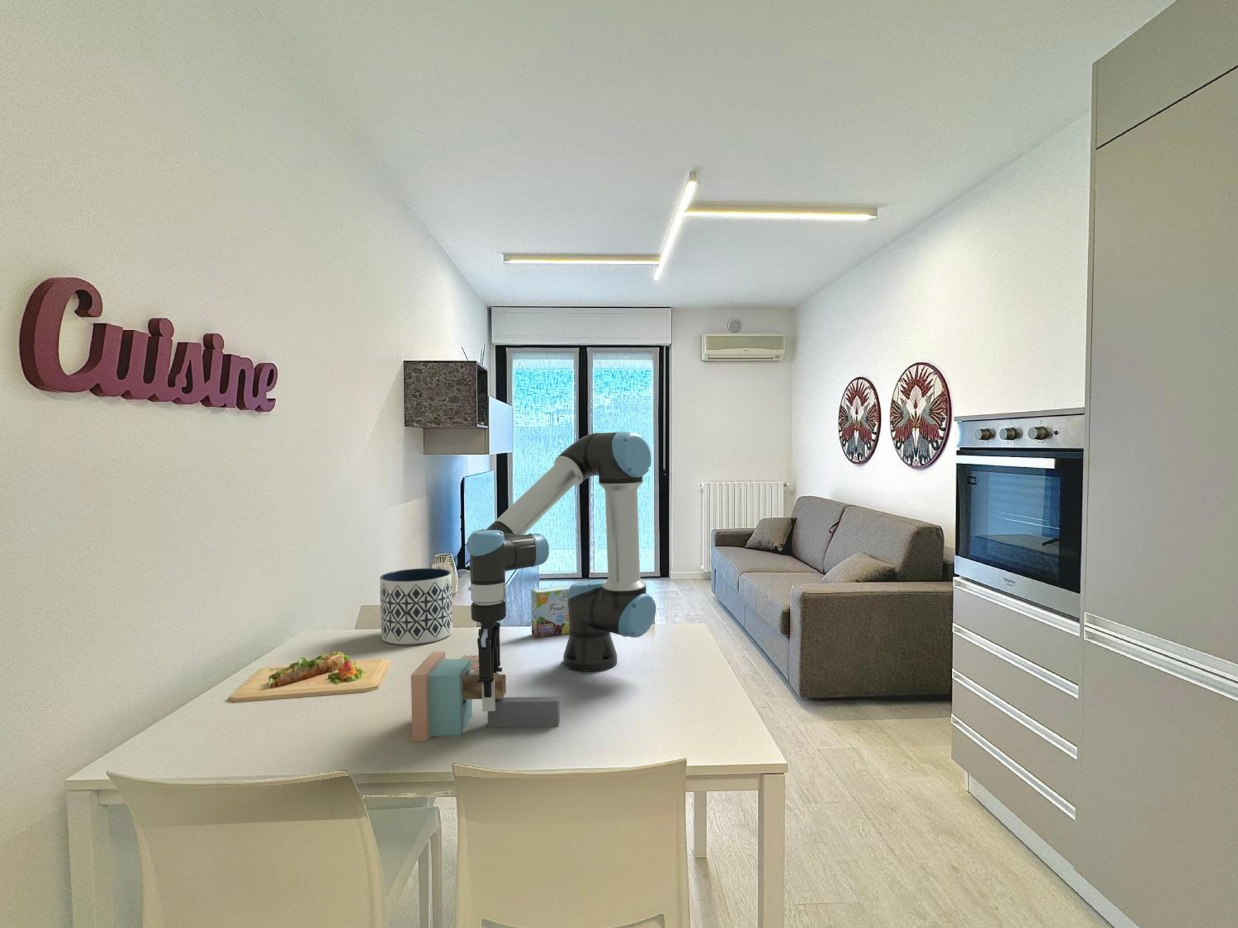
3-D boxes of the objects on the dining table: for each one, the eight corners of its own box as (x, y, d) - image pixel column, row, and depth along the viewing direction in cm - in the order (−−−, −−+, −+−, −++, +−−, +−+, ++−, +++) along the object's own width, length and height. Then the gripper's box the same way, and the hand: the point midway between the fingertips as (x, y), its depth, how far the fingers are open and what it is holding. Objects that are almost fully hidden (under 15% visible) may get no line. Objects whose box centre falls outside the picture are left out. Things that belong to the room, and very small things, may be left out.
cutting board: (391, 664, 193) (391, 638, 193) (377, 693, 170) (376, 664, 170) (260, 673, 187) (259, 646, 187) (227, 705, 164) (226, 674, 164)
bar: (505, 691, 150) (505, 674, 150) (502, 698, 146) (502, 680, 146) (447, 692, 150) (447, 674, 150) (443, 699, 146) (442, 681, 146)
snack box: (537, 638, 214) (536, 592, 214) (531, 634, 219) (530, 588, 219) (597, 629, 224) (596, 584, 223) (590, 625, 229) (589, 581, 228)
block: (472, 714, 154) (470, 658, 154) (460, 735, 143) (459, 675, 143) (443, 715, 154) (442, 658, 154) (430, 735, 143) (428, 675, 143)
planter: (390, 628, 230) (388, 569, 229) (456, 625, 232) (455, 566, 231) (373, 647, 207) (371, 582, 207) (447, 644, 210) (446, 579, 209)
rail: (559, 720, 150) (559, 696, 150) (558, 725, 147) (558, 701, 147) (490, 721, 150) (489, 697, 150) (487, 726, 147) (487, 702, 147)
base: (446, 710, 157) (445, 651, 156) (426, 740, 141) (425, 674, 140) (433, 710, 157) (432, 651, 156) (412, 741, 141) (410, 675, 140)
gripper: (479, 592, 156) (482, 692, 157) (462, 610, 139) (465, 722, 140) (511, 592, 156) (514, 691, 157) (498, 610, 139) (501, 721, 140)
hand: (491, 705), depth 148 cm, fingers closed on bar, 4 cm apart
